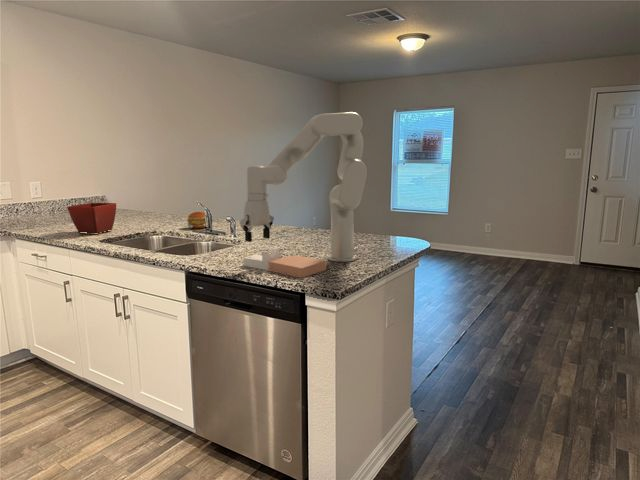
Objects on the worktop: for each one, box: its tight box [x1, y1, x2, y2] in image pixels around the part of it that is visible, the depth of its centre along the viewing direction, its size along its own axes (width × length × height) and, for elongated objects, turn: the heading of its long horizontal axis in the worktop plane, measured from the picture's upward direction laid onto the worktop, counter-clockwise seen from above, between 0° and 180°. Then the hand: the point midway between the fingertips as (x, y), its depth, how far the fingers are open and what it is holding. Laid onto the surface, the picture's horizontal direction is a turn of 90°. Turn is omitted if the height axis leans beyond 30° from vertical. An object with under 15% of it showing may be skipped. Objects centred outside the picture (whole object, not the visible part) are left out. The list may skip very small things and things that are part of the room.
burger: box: [187, 211, 206, 230], centre depth 276 cm, size 13×14×10 cm
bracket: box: [242, 247, 280, 271], centre depth 180 cm, size 13×7×8 cm, turn 55°
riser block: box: [269, 254, 327, 278], centre depth 173 cm, size 14×17×4 cm
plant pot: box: [66, 202, 117, 233], centre depth 263 cm, size 19×19×17 cm
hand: (257, 239), depth 179 cm, fingers open, 9 cm apart
